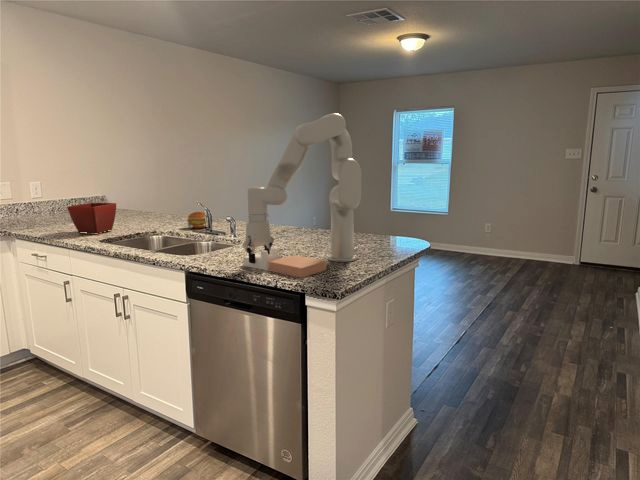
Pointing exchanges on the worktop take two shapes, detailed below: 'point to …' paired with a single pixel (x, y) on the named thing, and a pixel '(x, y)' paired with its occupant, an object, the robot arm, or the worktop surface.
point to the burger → (196, 220)
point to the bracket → (262, 259)
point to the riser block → (297, 266)
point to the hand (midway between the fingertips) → (259, 260)
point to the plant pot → (93, 217)
